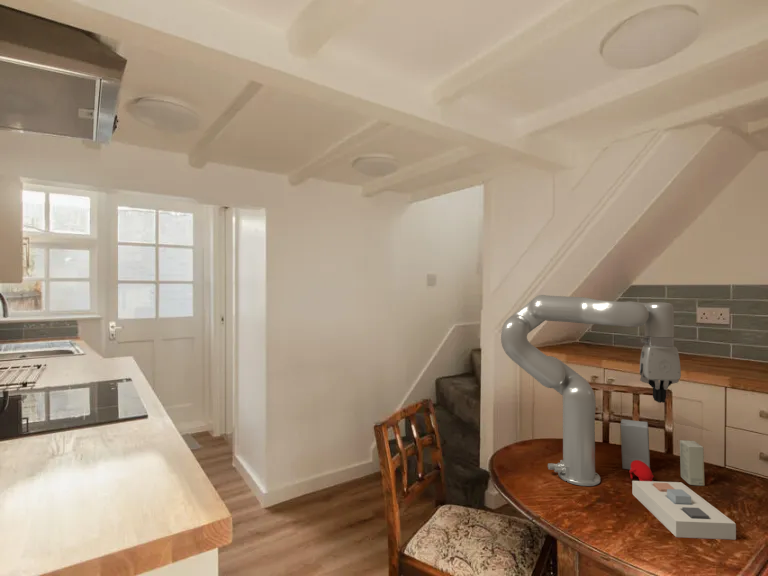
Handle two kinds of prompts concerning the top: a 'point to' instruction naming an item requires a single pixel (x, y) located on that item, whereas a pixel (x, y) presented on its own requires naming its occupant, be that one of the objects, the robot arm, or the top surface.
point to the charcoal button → (695, 513)
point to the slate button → (678, 496)
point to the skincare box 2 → (692, 462)
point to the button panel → (679, 520)
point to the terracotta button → (662, 486)
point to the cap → (641, 471)
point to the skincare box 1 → (634, 442)
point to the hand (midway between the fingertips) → (659, 401)
